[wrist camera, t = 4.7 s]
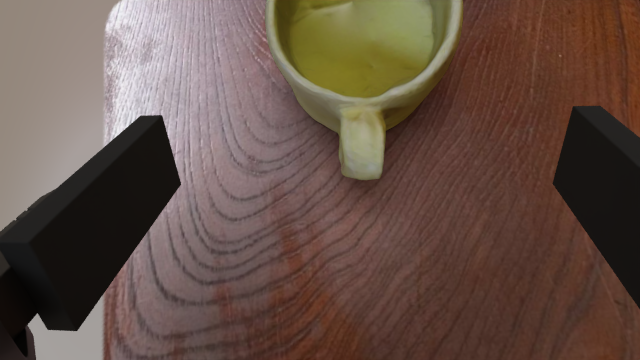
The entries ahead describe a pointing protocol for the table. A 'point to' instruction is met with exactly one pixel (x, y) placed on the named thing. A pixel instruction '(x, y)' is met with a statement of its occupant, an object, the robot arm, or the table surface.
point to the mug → (362, 65)
